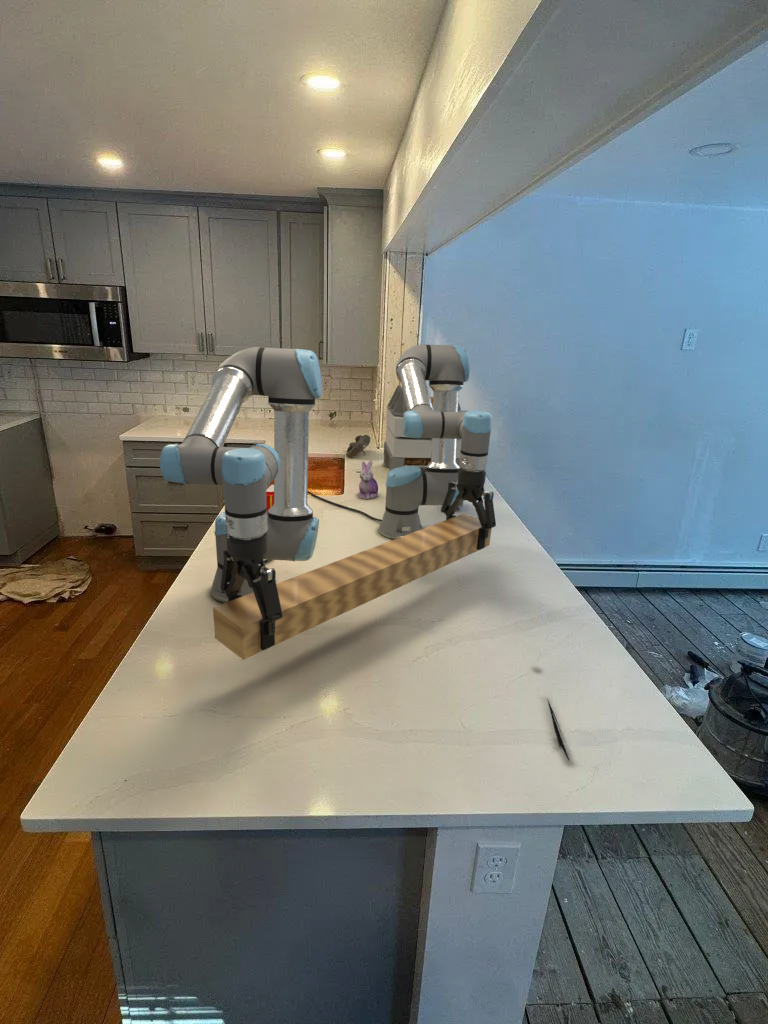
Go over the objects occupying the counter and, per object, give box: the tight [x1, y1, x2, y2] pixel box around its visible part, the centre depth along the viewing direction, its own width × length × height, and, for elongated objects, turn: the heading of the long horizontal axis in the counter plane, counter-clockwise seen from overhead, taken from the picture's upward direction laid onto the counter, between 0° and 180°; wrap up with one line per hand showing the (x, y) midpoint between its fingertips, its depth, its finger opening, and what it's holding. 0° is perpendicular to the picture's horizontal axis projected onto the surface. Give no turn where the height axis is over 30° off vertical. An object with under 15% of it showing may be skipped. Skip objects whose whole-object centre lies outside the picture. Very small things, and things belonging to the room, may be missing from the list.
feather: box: [536, 668, 570, 761], centre depth 113 cm, size 2×28×2 cm
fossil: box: [345, 434, 371, 459], centre depth 304 cm, size 22×10×15 cm
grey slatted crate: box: [383, 384, 462, 471], centre depth 268 cm, size 34×33×41 cm
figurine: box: [358, 460, 379, 500], centre depth 236 cm, size 9×10×15 cm
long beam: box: [212, 513, 493, 661], centre depth 137 cm, size 83×10×7 cm, turn 137°
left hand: (252, 635), depth 113 cm, fingers closed on long beam, 10 cm apart
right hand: (465, 542), depth 163 cm, fingers closed on long beam, 10 cm apart
